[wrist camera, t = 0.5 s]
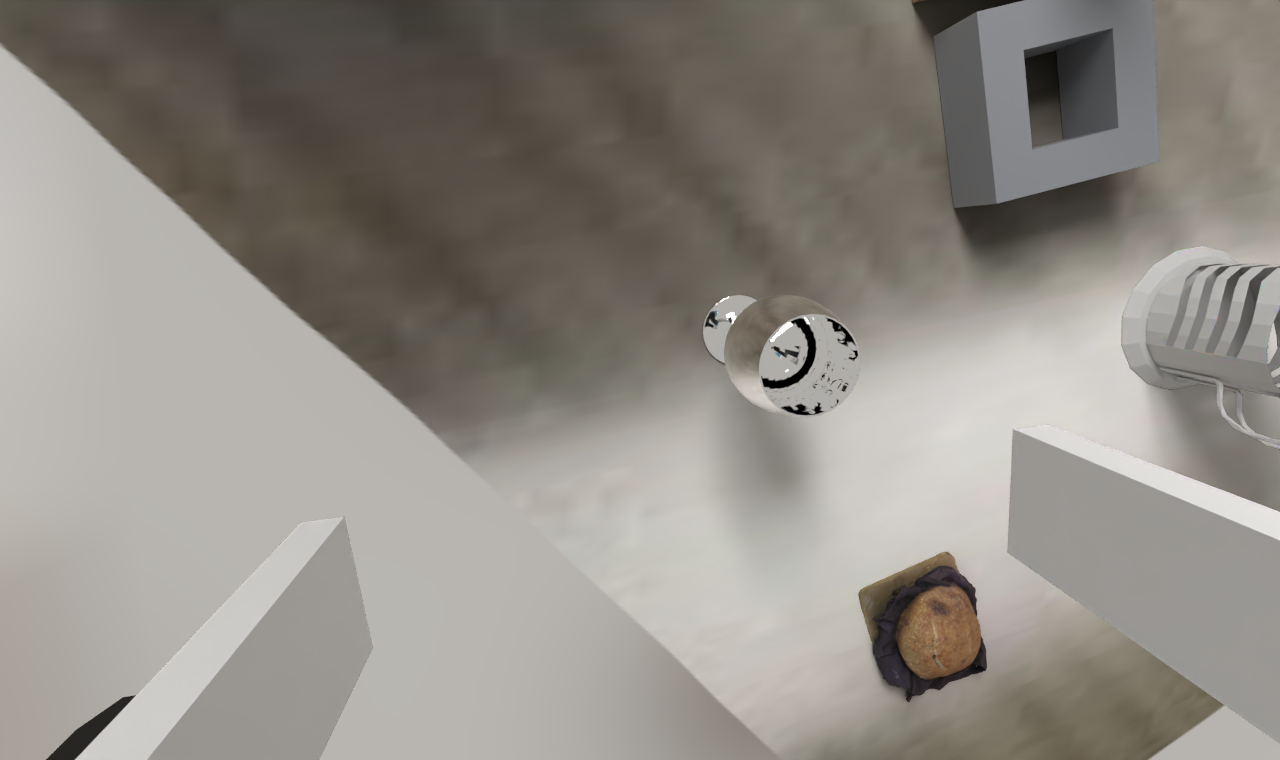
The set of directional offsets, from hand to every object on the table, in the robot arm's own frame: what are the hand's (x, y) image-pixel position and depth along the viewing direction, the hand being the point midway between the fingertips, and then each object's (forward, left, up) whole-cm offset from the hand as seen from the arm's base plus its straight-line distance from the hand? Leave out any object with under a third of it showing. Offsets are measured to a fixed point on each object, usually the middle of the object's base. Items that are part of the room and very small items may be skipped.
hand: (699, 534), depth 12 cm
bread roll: (+27, +17, -28) cm, 42 cm away
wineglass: (+2, +8, -27) cm, 28 cm away
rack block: (-7, +28, -27) cm, 39 cm away
